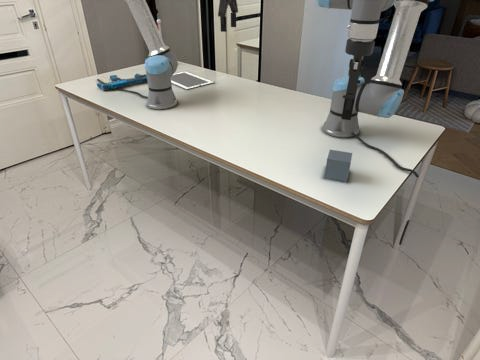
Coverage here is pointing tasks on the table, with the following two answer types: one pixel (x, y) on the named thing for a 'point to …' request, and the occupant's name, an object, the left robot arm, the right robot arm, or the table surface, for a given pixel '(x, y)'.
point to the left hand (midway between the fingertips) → (228, 29)
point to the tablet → (188, 80)
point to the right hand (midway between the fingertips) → (347, 111)
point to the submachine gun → (122, 82)
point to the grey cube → (338, 165)
